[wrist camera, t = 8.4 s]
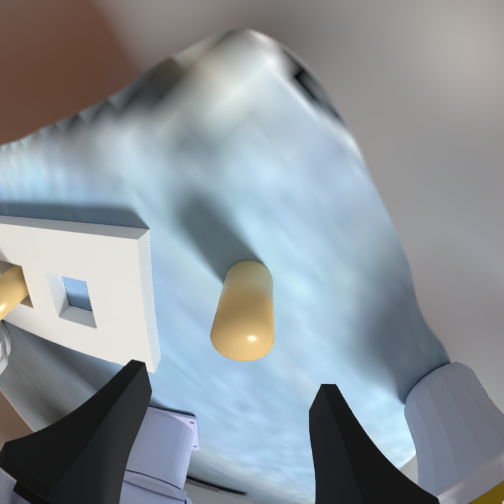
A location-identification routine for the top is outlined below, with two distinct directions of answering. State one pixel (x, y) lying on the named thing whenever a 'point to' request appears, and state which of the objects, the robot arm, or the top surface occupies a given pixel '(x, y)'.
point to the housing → (98, 283)
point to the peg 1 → (12, 289)
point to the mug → (4, 347)
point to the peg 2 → (245, 313)
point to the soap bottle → (457, 437)
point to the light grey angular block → (209, 494)
